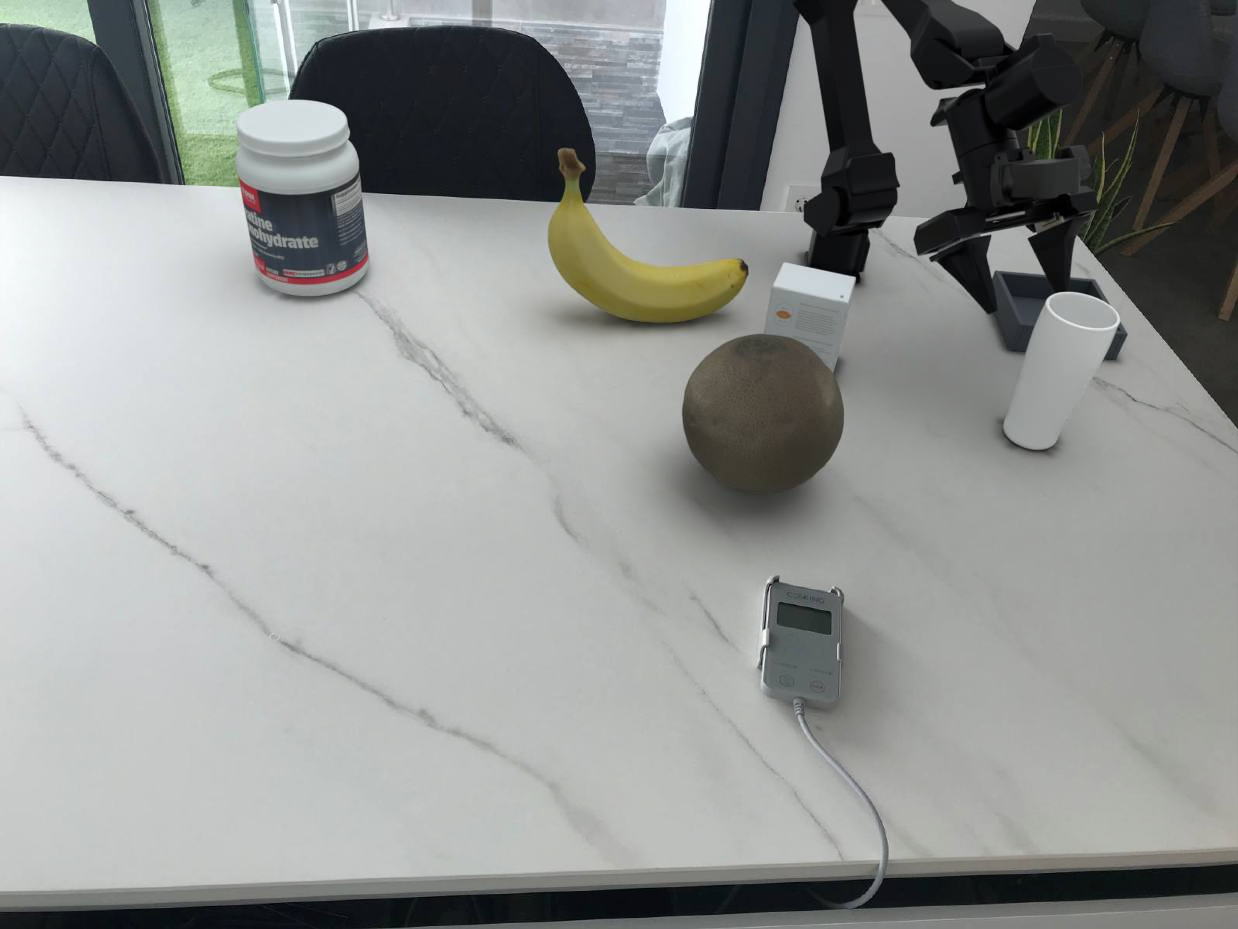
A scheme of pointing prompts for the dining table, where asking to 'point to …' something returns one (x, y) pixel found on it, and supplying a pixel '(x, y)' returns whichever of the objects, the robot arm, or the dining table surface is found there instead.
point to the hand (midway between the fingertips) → (1028, 304)
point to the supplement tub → (302, 197)
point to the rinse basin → (1037, 306)
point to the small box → (810, 308)
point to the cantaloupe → (762, 413)
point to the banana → (631, 267)
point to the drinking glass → (1058, 366)
